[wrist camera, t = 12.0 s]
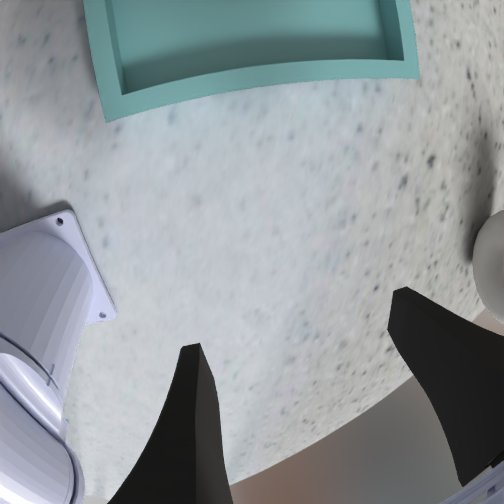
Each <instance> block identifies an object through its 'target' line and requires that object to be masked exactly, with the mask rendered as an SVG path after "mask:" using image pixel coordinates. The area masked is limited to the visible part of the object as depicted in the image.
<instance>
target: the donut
mask: <svg viewBox="0 0 504 504" xmlns="http://www.w3.org/2000/svg"><path fill="white" fill-rule="evenodd" d="M472 263H473V275H474V280H475V284H476V288H477V291H478V293H479V296H480V298H481V300H482V302H483V304H484V305H485V307H486V308H487V309H488V311H489V312H490V314H491V315H492V316H493V317H494V318H495V319H497V320H498V321H499V322H500V323H502V324H503V325H504V210H501V211H500V212H498V213H496V214H495V215H493V216H491V217H490V218H488V219H487V220H486V222H485V223H484V225H483V226H482V227H481V229H480V230H479V232H478V235H477V238H476V241H475V243H474V250H473V259H472Z"/></svg>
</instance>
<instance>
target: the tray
mask: <svg viewBox="0 0 504 504" xmlns="http://www.w3.org/2000/svg"><path fill="white" fill-rule="evenodd" d="M83 4H84V12H85V19H86V26H87V32H88V38H89V44H90V50H91V56H92V61H93V66H94V71H95V76H96V81H97V86H98V91H99V95H100V100H101V104H102V108H103V113H104V117H105V121H106V123H107V122H110V121H113V120H116V119H119V118H123V117H126V116H129V115H133V114H136V113H139V112H143V111H147V110H150V109H154V108H158V107H162V106H165V105H169V104H174V103H178V102H182V101H186V100H191V99H195V98H200V97H205V96H210V95H215V94H220V93H225V92H231V91H237V90H243V89H249V88H256V87H263V86H270V85H278V84H287V83H296V82H307V81H319V80H334V79H357V78H405V79H420V73H419V63H418V53H417V45H416V37H415V30H414V24H413V18H412V12H411V6H410V1H409V0H83Z"/></svg>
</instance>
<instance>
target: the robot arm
mask: <svg viewBox="0 0 504 504" xmlns="http://www.w3.org/2000/svg"><path fill="white" fill-rule="evenodd" d="M58 218H61V219H62V220H63V223H60V222H59V221H58ZM101 312H103V313H105V314H106V315H103V314H101ZM116 314H117V310H116V308H115V306H114V304H113V302H112V300H111V298H110V295H109V293H108V291H107V289H106V287H105V285H104V283H103V281H102V278H101V276H100V274H99V272H98V270H97V267H96V265H95V263H94V261H93V258H92V256H91V254H90V251H89V249H88V246H87V244H86V242H85V239H84V237H83V234H82V232H81V229H80V226H79V224H78V221H77V219H76V216H75V214H74V212H73V211H71V210H69V209H65V210H62V211H59V212H56V213H53V214H51V215H48V216H45V217H42V218H39V219H36V220H34V221H31V222H28V223H25V224H23V225H20V226H17V227H15V228H12V229H9V230H7V231H4V232H2V233H0V504H82V503H83V500H84V493H85V479H84V474H83V470H82V467H81V464H80V462H79V460H78V458H77V456H76V454H75V453H74V452H73V451H72V449H71V448H70V447H69V446H68V445H67V444H66V443H65V441H66V434H67V428H68V423H67V422H66V421H65V420H64V418H63V415H62V412H63V407H64V402H65V397H66V393H67V389H68V385H69V381H70V376H71V373H72V369H73V365H74V361H75V357H76V354H77V350H78V347H79V343H80V340H81V336H82V333H83V330H84V326H85V324H90V323H95V322H100V321H106V320H111V319H114V318H115V317H116ZM387 330H388V332H389V334H390V336H391V338H392V340H393V342H394V344H395V346H396V348H397V350H398V352H399V353H400V355H401V356H402V358H403V359H404V361H405V362H406V364H407V365H408V367H409V368H410V370H411V371H412V373H413V374H414V376H415V377H416V379H417V380H418V382H419V383H420V385H421V386H422V388H423V389H424V391H425V392H426V394H427V396H428V398H429V399H430V401H431V403H432V405H433V408H434V410H435V412H436V414H437V416H438V418H439V420H440V423H441V425H442V428H443V430H444V433H445V435H446V438H447V441H448V444H449V447H450V449H451V452H452V455H453V459H454V463H455V467H456V471H457V475H458V479H459V481H460V483H461V485H462V487H464V486H465V485H467V484H468V483H470V482H471V481H473V480H475V479H476V478H477V477H479V476H480V475H482V474H483V473H484V472H486V471H487V470H489V469H490V468H491V467H492V468H493V469H492V470H490V471H489V472H488V473H486V474H485V475H483V476H482V477H481V478H479V479H478V480H476V481H475V482H473V483H472V484H470V485H469V486H467V487H466V488H464V489H463V490H461V491H460V492H458V493H456V494H455V495H453V496H452V497H450V498H448V499H447V500H445V501H443V502H441V503H440V504H469V503H470V502H471V501H473V500H474V499H476V498H477V497H479V496H480V495H482V494H483V493H484V492H486V491H487V490H488V492H487V497H486V498H485V499H483V500H482V501H480V502H479V503H477V504H504V336H501V335H499V334H496V333H494V332H491V331H489V330H486V329H484V328H482V327H480V326H477V325H476V324H473V323H472V322H470V321H468V320H466V319H464V318H462V317H460V316H458V315H456V314H454V313H453V312H451V311H449V310H447V309H445V308H444V307H442V306H440V305H438V304H437V303H435V302H433V301H432V300H430V299H428V298H426V297H425V296H423V295H421V294H419V293H418V292H416V291H414V290H412V289H410V288H408V287H404V288H401V289H398V290H395V291H393V297H392V304H391V311H390V317H389V323H388V329H387ZM107 504H233V500H232V497H231V492H230V488H229V483H228V479H227V474H226V470H225V464H224V457H223V446H222V435H221V423H220V411H219V402H218V396H217V391H216V386H215V381H214V377H213V375H212V372H211V370H210V367H209V365H208V362H207V360H206V357H205V355H204V352H203V350H202V347H201V345H200V343H197V344H192V345H187V346H183V347H182V348H181V350H180V354H179V358H178V362H177V366H176V370H175V373H174V377H173V380H172V383H171V386H170V389H169V392H168V395H167V398H166V401H165V403H164V406H163V408H162V411H161V413H160V416H159V419H158V421H157V423H156V426H155V428H154V430H153V432H152V434H151V436H150V438H149V440H148V442H147V444H146V446H145V448H144V450H143V452H142V454H141V455H140V457H139V459H138V461H137V462H136V464H135V466H134V467H133V469H132V471H131V472H130V474H129V475H128V477H127V478H126V479H125V481H124V482H123V484H122V485H121V487H120V488H119V489H118V491H117V492H116V494H115V495H114V496H113V497H112V499H111V500H110V501H109V502H108V503H107Z"/></svg>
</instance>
